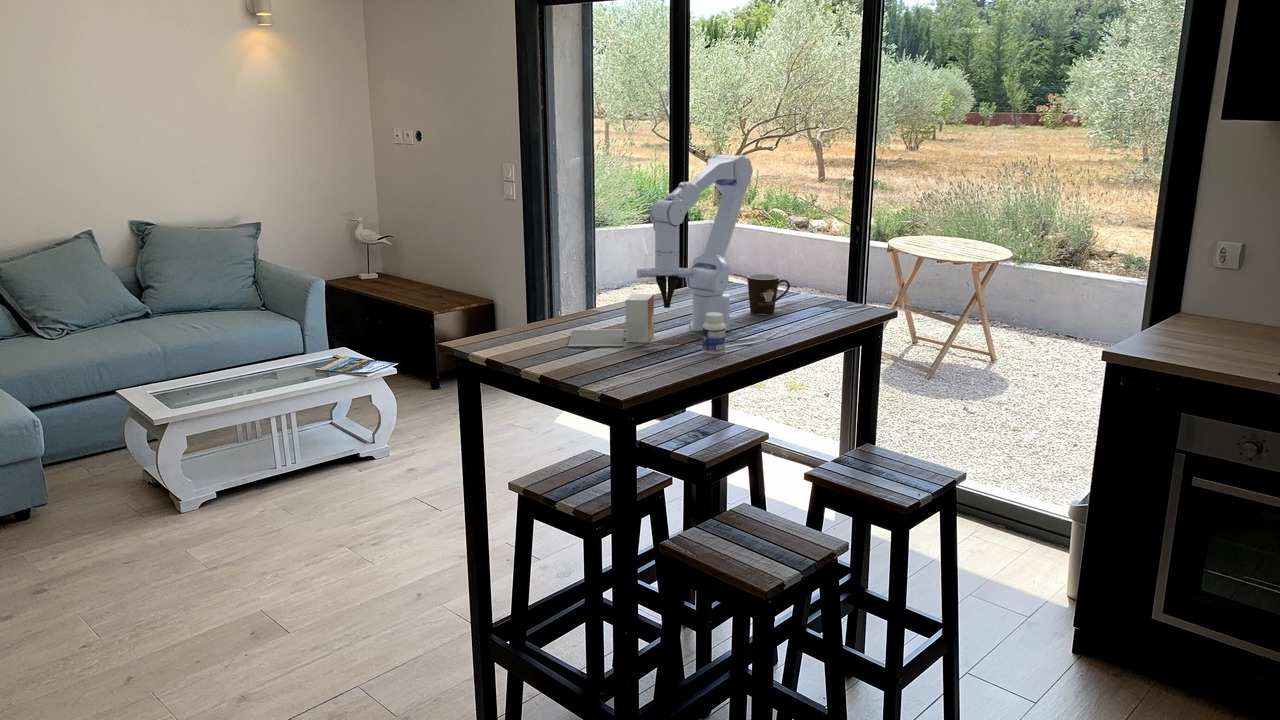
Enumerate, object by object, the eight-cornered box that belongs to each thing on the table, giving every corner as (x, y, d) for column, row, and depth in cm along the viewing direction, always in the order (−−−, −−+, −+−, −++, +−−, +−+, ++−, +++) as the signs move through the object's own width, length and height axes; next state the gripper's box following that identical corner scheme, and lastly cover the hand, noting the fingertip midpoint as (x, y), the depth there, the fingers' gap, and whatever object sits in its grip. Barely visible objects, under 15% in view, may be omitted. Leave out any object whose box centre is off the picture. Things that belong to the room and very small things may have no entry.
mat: (624, 331, 233) (624, 329, 233) (623, 347, 218) (623, 345, 217) (572, 331, 233) (572, 329, 233) (568, 347, 218) (568, 345, 217)
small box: (648, 343, 221) (648, 300, 218) (625, 342, 222) (624, 299, 219) (654, 335, 229) (654, 293, 226) (632, 334, 230) (631, 293, 227)
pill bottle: (702, 348, 216) (702, 311, 214) (724, 348, 216) (725, 311, 214) (702, 354, 211) (703, 316, 209) (725, 354, 211) (726, 316, 209)
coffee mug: (746, 315, 249) (747, 279, 246) (746, 309, 257) (747, 273, 254) (789, 316, 248) (791, 280, 245) (788, 309, 256) (790, 274, 253)
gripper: (636, 253, 216) (636, 310, 219) (698, 253, 216) (698, 310, 219) (636, 249, 222) (636, 304, 226) (696, 248, 223) (696, 304, 226)
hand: (666, 307), depth 223 cm, fingers closed
